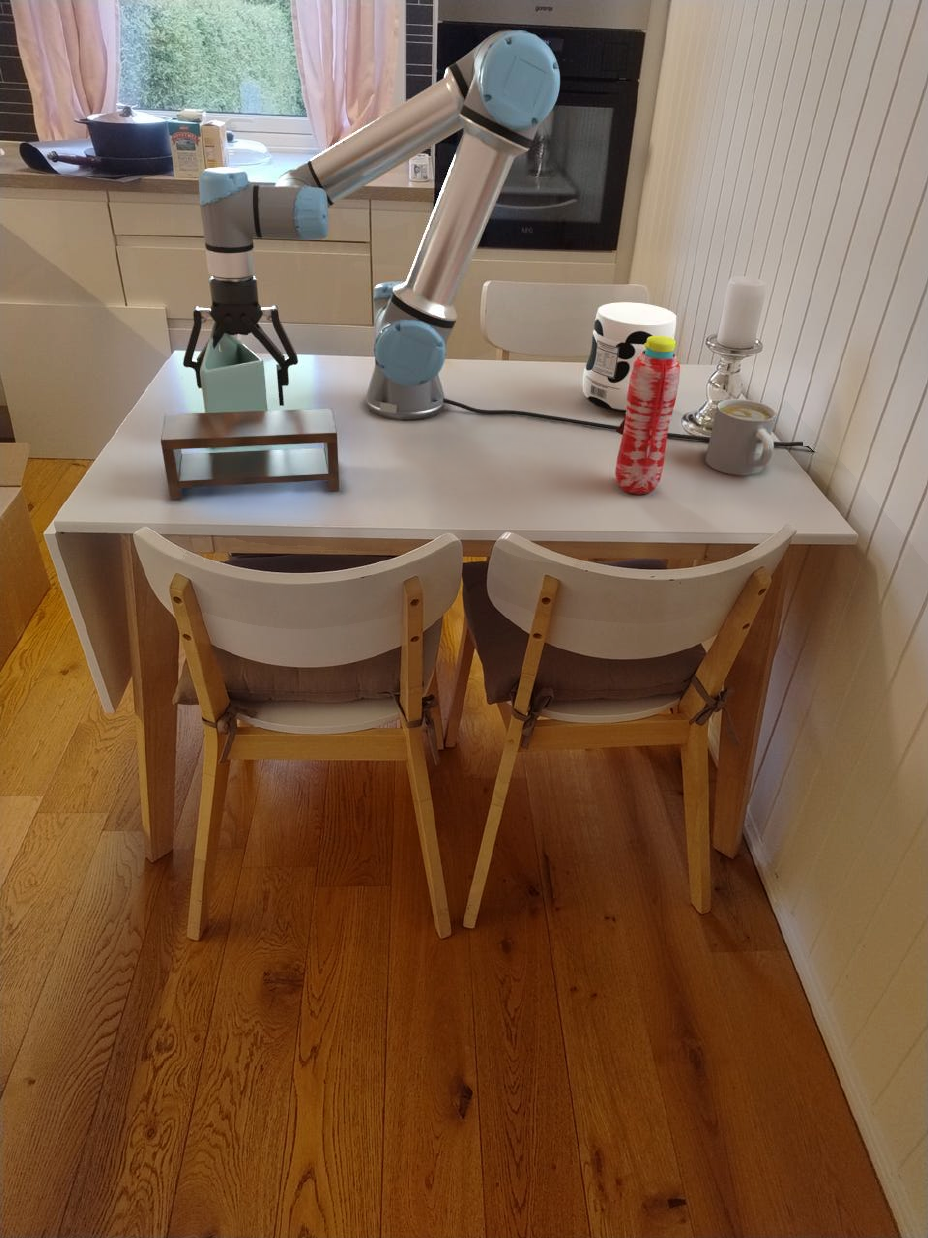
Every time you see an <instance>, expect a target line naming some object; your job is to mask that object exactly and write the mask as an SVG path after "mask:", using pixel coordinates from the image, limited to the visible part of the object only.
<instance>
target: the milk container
mask: <svg viewBox="0 0 928 1238" xmlns="http://www.w3.org/2000/svg"><path fill="white" fill-rule="evenodd" d="M676 328H677V315H676V314H675V313H674V312H673V311H671V310H669V309H667V308H665V307H661V306H658V305H654V304H649V303H642V302H628V301H624V302H623V301H621V302H611V303H605V304H603V305H600V306H599V307H598V309H597V312H596V314H595V319H594V325H593V331H592V338H591V348H590V354H589V357H588V359H587V362H586V364H585V366H584V369H583V374H582V391H583V395H584V397H585V398H586V400H588V401H589V402H590V403H592V404H593V405H594V406H596V407H598V408H601V409H604V410H608V411H612V412H617V413H623V414H626V406H627V394H628V388H629V382H630V377H631V374H632V370H633V365H634V362H635V361H636V360H637V358H638V357H639V356H640V355H641V354H642V352H643V351H645V350H646V348H645V347H644V343H646V342H647V338H648V337H650V336H659V335H660V336H667V337H670V338H673V339H674V340H675V334H676Z"/></svg>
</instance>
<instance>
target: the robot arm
mask: <svg viewBox="0 0 928 1238" xmlns="http://www.w3.org/2000/svg"><path fill="white" fill-rule="evenodd" d="M559 68H560V67H559V64H558V61H557V59H556V56H555V54H554V52H553V51H552V49H551V48H550V46H549V45H548V44H547V43H546V42H545V40H543V39H542V38H540V37H539V36H538V35H536V34H535V33H531V32H529V31H527V30H522V29H521V30H520V29H519V30H517V29H503V30H499V31H497V32H495V33H492V34H491V35H489V36H488V37H486V38H485V39H484V40H482V42H480V43H479V44H478V45H476V47H474V48H473V49H472V50H470V51H469V52H468V53H467V54H466V55H464V56H463V57H461V58H460V59H458V60H457V61H455V62H454V63H453V64H451V65H449V66H447V67H446V68H445V73H444V75H443V78H442V79H440V80H439V81H437V82H435V83H434V84H432V85H430V86H429V87H427V88H425V89H424V90H422V91H420V92H418V93H417V94H415V95H414V96H412V97H410V98H409V99H408V100H405V101H404V102H402V103H401V104H399V105H398V106H396V107H394V108H392V109H391V110H390V111H388V112H386V113H385V114H382V115H381V116H379V117H378V118H376V119H374V120H373V121H371V122H369V123H368V124H367V125H365V126H363V127H362V128H360V129H358V130H356V131H355V132H353V133H352V134H350V135H348V136H347V137H345V138H343V139H342V140H340V141H338V142H336V143H335V144H334V145H332V146H330V147H329V148H327V149H325V150H324V151H321V153H319V154H317V155H315V156H314V157H312V158H311V159H310V160H309V161H307V162H304V163H302V164H301V165H299V166H298V167H296V168H293V169H289V170H286V171H285V172H284V173H283V174H280V176H279V177H278V178H277V180H276V181H275V184H274V185H260V184H259V185H257V184H256V185H255V184H251V183H250V180H249V178H248V174H247V172H246V171H245V170H243V169H239V168H232V167H212V168H205V169H204V170H201V172H200V174H199V175H198V189H199V208H200V214H201V221H202V230H203V238H204V245H205V248H204V249H205V257H206V265H207V272H208V274H209V275H210V277H209V279H208V281H209V288H210V289H209V290H210V291H209V292H210V299H211V306H210V308H205V307H204V308H203V307H201V306H199V305H195V306H194V308H193V311H192V312H193V314H192V316H193V324H192V328H191V331H190V335H189V339H188V342H187V344H186V345H187V346H186V349H185V353H184V356H183V360H182V361H183V362H182V365H183V367H184V368H190V369H193V370H194V372H195V378H196V386H197V387H198V389H202V385H201V377H200V369H201V365H202V362H203V358H204V355H205V352H206V348H207V345H208V342H209V339H210V337H209V338H208V340H207V342H206V343H205V345H204V346H203V348H202V349H201V351H200V353H199V354H198V356H197V358H194V355H195V351H196V347H197V344H198V342H199V341H198V340H199V337H200V334H201V330H202V325H203V324H204V323H206V322H207V319H208V318H209V317H210V318H211V319H212V321H215V322H216V323H217V324H218V327H217V328H216V331H215V333H214V335H213V337H212V338H213V348H214V349H215V347H216V345H217V344H218V342H219V341H220V339H221V338H222V337H223V335H224V333H226V334H229V335H234V336H236V335H242V336H249V334H252V335H253V336H254V337H255V339H257V340H258V341H259V343H260V344H261V345H262V347H264V349H265V350H266V351H267V352H268V354H270V356H271V357H272V359H274V360H275V362H276V363H277V364H276V365H275V366H276V377H277V378H276V380H277V393H278V402H279V403H278V404H279V407H284V406H285V399H284V387H286V386H287V387H288V386H289V385H290V379H289V378H290V377H289V368H290V366H293V365H295V366H296V365H297V364H298V363H299V359H298V354H297V352H296V350H295V348H294V346H293V344H292V342H291V340H290V339H289V336H288V334H287V331H286V330H285V328H284V326H283V323H282V321H281V319H280V314H279V313H280V312H279V307H278V306H277V305H275V304H272V305H271V307H262V306H261V305H260V301H259V292H258V291H259V290H258V281H257V280H258V279H257V277H256V276H255V274H256V273H257V270H256V256H255V247H254V246H255V245H254V238H256V239H257V238H258V239H279V240H280V239H281V240H282V239H283V240H303V241H305V242H306V241H311V240H325V238H327V236H328V235H329V208H330V207H332V206H333V205H334V204H336V203H338V202H340V201H341V200H343V199H344V198H346V197H348V196H350V195H351V194H353V193H355V192H357V191H358V190H360V189H361V188H363V187H365V186H367V185H368V184H370V183H373V181H375V180H377V179H378V178H380V177H382V176H384V175H385V174H387V173H389V172H390V171H392V170H394V169H395V168H398V167H399V166H400V165H403V164H404V163H406V162H408V161H409V160H411V159H412V158H414V157H416V156H418V155H419V154H421V153H423V152H425V151H426V150H428V149H430V148H431V147H433V146H435V145H437V144H438V143H440V142H441V141H443V140H445V139H447V138H448V137H450V136H452V135H454V134H455V133H457V132H458V131H460V130H462V129H463V132H462V135H461V138H460V141H459V143H458V146H457V147H456V148H457V149H456V152H455V154H454V156H453V159H452V162H451V164H450V167H449V169H448V172H447V173H446V174H447V175H446V177H445V179H444V182H443V185H442V187H441V190H440V192H439V195H438V198H437V200H436V203H435V206H434V208H433V211H432V214H431V216H430V219H429V221H428V224H427V227H426V229H425V232H424V234H423V237H422V240H421V242H420V244H419V247H418V250H417V253H416V255H415V258H414V261H413V263H412V265H411V267H410V271H409V273H408V275H407V279H406V281H403V280H402V281H384V282H380V283H378V284H376V286H375V287H374V289H373V290H374V293H373V298H372V302H373V305H374V306H373V308H374V310H373V311H374V312H373V313H374V315H373V316H374V317H373V318H374V345H373V346H374V347H373V352H374V367H373V371H372V375H371V378H370V381H369V384H368V388H367V391H366V396H365V403H366V404H365V405H366V408H367V409H368V411H369V412H371V413H373V414H375V415H377V416H380V417H382V418H387V419H393V420H398V421H399V420H401V421H414V420H415V421H416V420H424V419H428V418H432V417H435V416H437V415H438V414H441V413H442V411H443V410H444V409H445V404H448V405H451V406H454V407H458V408H461V409H464V410H466V411H469V412H472V413H475V414H482V415H516V416H524V417H530V418H531V417H532V418H536V419H537V418H538V419H543V420H551V421H556V422H557V421H558V422H562V423H563V422H564V423H570V424H577V425H581V426H589V427H595V428H601V429H607V430H615V431H616V430H617V429H618V427H619V426H620V425H613V424H607V423H599V422H593V421H587V420H581V419H575V418H568V417H563V416H557V415H550V414H542V413H537V412H530V411H524V410H514V409H513V410H512V409H493V410H492V409H481V408H475V407H472V406H469V405H466V404H464V403H461V402H458V401H455V400H451V399H448V398H446V397H445V393H444V390H443V386H442V383H441V378H440V376H439V373H440V372H441V370H442V368H443V366H444V363H445V361H446V356H447V353H446V352H447V348H446V346H447V343H448V341H449V338H450V336H451V334H452V332H453V329H454V327H455V324H456V322H457V319H458V314H457V311H456V308H455V305H454V303H455V300H456V298H457V296H458V294H459V291H460V289H461V287H462V284H463V282H464V279H465V277H466V274H467V273H468V270H469V268H470V266H471V262H472V260H473V258H474V256H475V253H476V251H477V249H478V246H479V244H480V242H481V239H482V237H483V234H484V232H485V229H486V227H487V224H488V223H489V219H490V218H491V215H492V213H493V210H494V208H495V206H496V203H497V201H498V198H499V196H500V194H501V192H502V189H503V187H504V184H505V181H506V180H507V177H508V175H509V172H510V171H511V170H510V169H511V168H512V165H513V162H514V160H515V159H516V157H518V156H520V155H522V154H524V153H526V152H529V150H530V148H531V145H532V143H533V141H534V139H535V137H536V134H537V132H538V130H539V127H540V125H541V123H542V122H543V121H545V119H546V118H547V117H548V116H549V114H550V113H551V112H552V111H553V108H554V106H555V105H556V102H557V100H558V97H559V92H560V86H561V74H560V69H559ZM263 316H264V317H265V318H266V320H267V321H268V322H272V326H273V329H274V331H275V333H276V334H277V337H278V338H279V342H280V343H281V345H282V347H283V349H284V351H285V353H286V355H287V356H285V355H284V354H283V353H282V351H281V350H280V349H279V348H278V347H277V345H276V344H275V343H274V342H273V341H272V339H271V338H270V337H269V336H268V335H267V333H266V332H265V331H264V330H263V328H262V326H261V325H260V324H259V322H260V320H261V319H262V317H263ZM667 438H671V439H672V438H673V439H682V440H691V441H702V442H709V440H710V436H701V435H691V434H682V433H681V434H680V433H674V432H673V433H672V432H668V433H667ZM803 442H804V441H790V442H788V441H785V442H783V441H773V443H774V447H785V448H786V447H789V448H790V447H805V448H807V449H809V450H810V451H811V452H812V453H815V452H814V451H813V450H812V449H811V448H810V447H809V446H803Z"/></svg>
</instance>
